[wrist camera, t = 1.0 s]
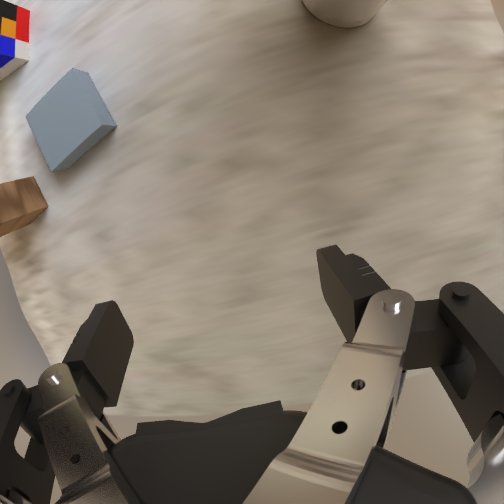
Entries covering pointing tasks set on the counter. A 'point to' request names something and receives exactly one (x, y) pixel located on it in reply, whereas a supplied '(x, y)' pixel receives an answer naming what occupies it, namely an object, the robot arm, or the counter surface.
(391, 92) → the counter surface
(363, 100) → the counter surface
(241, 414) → the robot arm
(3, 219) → the walnut block
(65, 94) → the slate plinth
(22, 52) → the puzzle toy
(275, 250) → the counter surface
